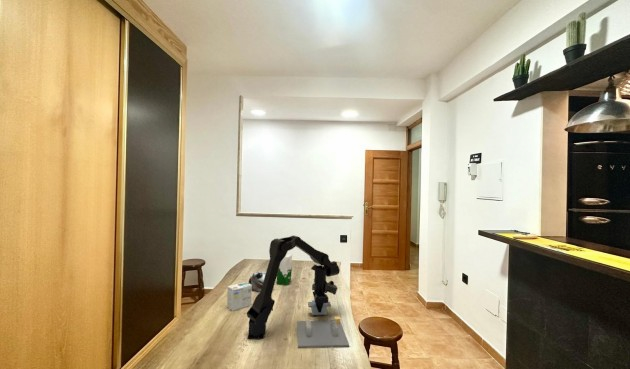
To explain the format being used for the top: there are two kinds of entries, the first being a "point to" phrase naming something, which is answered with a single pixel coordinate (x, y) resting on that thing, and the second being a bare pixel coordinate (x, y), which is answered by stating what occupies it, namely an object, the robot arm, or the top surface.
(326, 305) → the servo block
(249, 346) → the top surface
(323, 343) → the plate
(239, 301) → the light bulb box
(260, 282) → the lucky cat figurine
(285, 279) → the milk carton
